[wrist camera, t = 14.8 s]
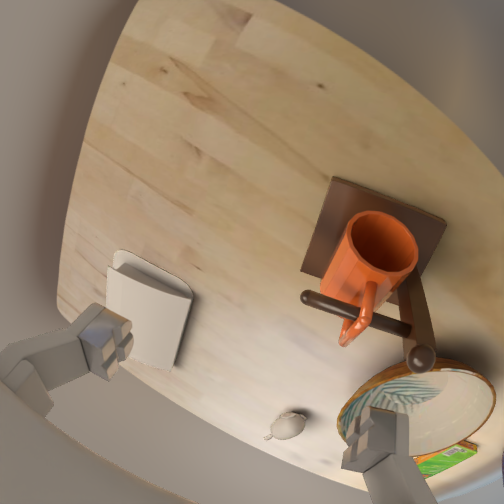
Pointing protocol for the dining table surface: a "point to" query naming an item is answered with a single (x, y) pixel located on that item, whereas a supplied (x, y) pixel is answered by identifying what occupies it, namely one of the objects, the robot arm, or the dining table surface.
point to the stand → (409, 291)
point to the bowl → (427, 403)
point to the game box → (444, 458)
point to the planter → (503, 467)
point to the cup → (368, 266)
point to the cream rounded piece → (287, 426)
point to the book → (149, 307)
